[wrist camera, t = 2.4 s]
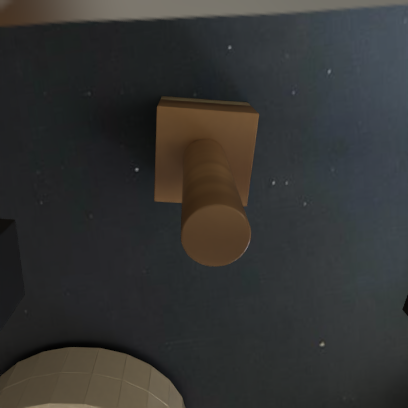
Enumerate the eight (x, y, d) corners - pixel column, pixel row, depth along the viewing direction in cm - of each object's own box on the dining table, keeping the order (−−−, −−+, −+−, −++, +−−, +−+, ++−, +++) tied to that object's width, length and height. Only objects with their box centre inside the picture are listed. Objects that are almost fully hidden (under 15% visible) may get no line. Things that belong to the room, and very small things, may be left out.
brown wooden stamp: (161, 95, 26) (134, 152, 12) (248, 102, 26) (311, 163, 13) (158, 178, 28) (133, 300, 15) (238, 182, 28) (283, 306, 15)
